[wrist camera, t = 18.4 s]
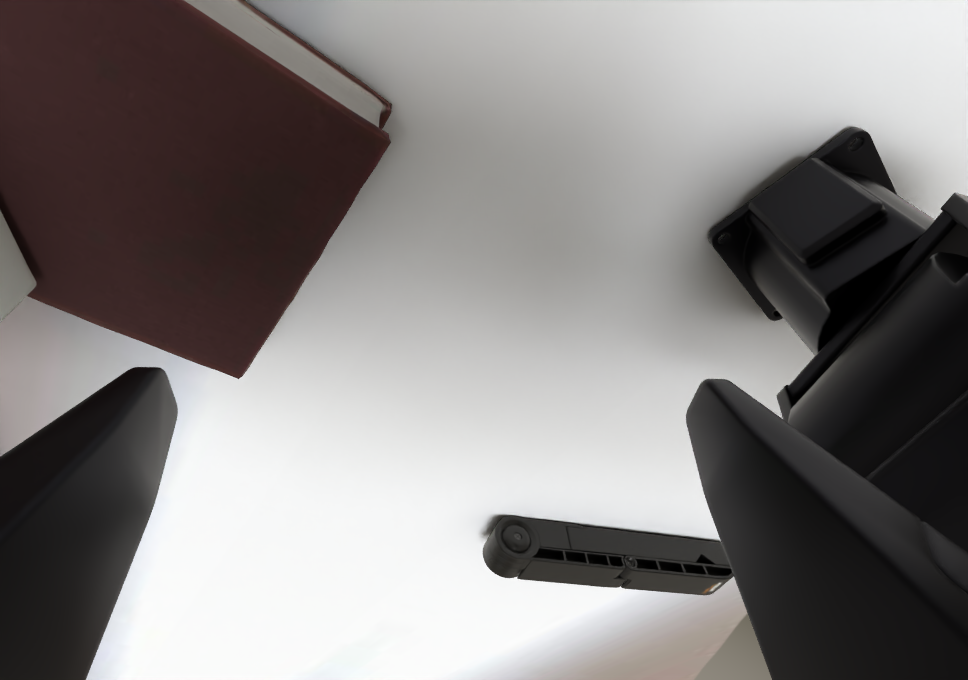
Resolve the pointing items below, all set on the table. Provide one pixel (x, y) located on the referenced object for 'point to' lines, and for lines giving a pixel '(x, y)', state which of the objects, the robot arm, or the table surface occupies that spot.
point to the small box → (12, 272)
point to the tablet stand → (604, 557)
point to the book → (176, 165)
